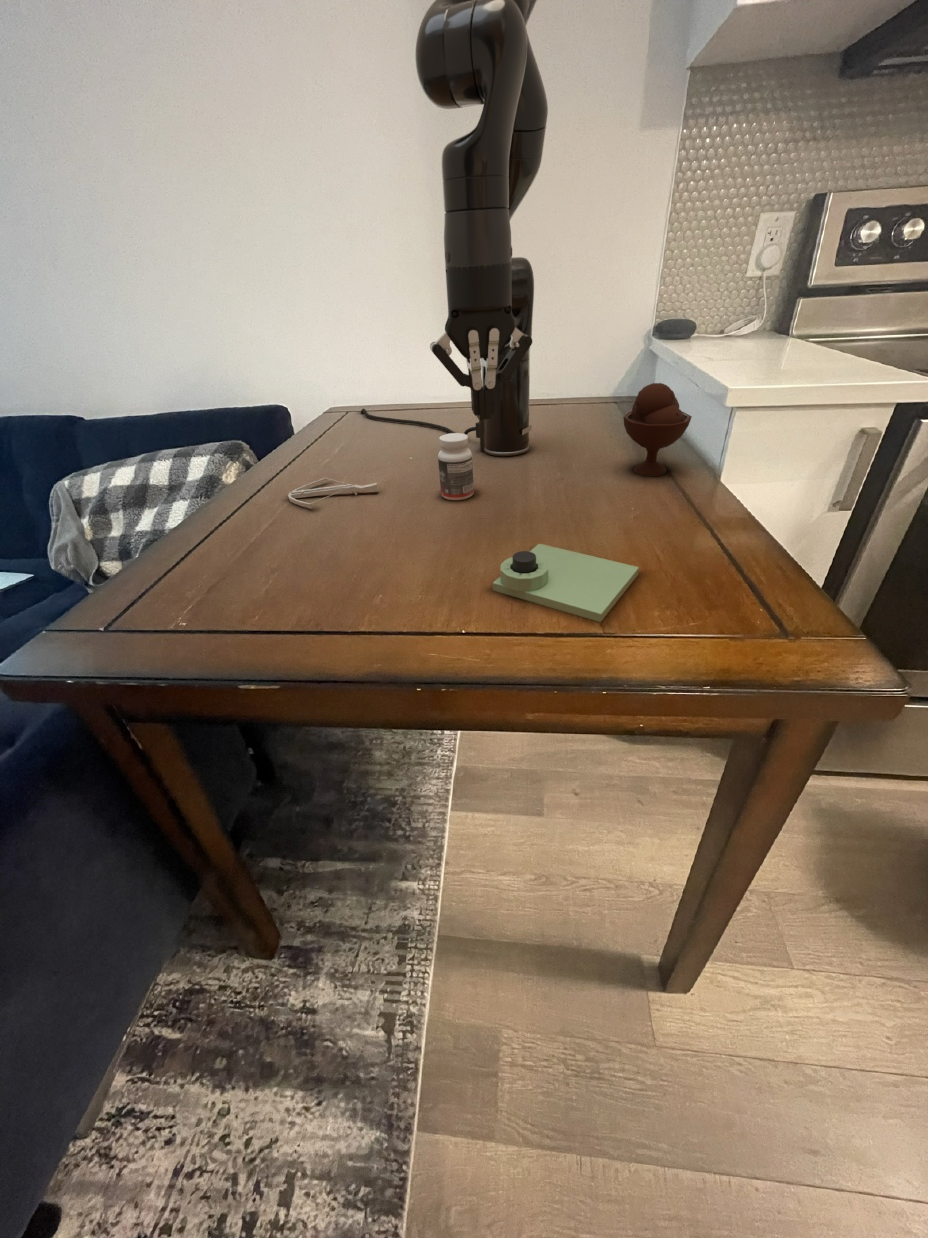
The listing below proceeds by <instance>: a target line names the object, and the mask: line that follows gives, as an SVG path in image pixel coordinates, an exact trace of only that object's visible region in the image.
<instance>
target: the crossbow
mask: <svg viewBox="0 0 928 1238" xmlns="http://www.w3.org/2000/svg"><path fill="white" fill-rule="evenodd" d="M328 480H330V481H334V482H337V483H341V485H333V486H325V487H317V486H319V485H322V484H325V483H327V482H328ZM314 487H317V488H314ZM379 490H380V489H379V484H378V482H374V483H369V484H365V485H360V484H354V483H347V482H343V481H338V480H335V479H332V478H328V477H322V478H321V479H318V480H315V481H312V482H309V483H307V484H304V485H302V486H300V487H298V488H295V489H294V490H291V491H290V492H288V494H287V497H288V500H289V501H290V503H293V504H294V505H297V506H300V507H303V508H309V509H314V507H313V505H312V504H314V503H317V502H319V501H321V500H323V499H326V498H328V497H331V496H333V495H336V494H341V493H348V492H349V493H350V492H351V493H352V494H354V495H355V496H358V492H359V493H378V492H379ZM325 495H326V496H325ZM327 495H328V496H327ZM317 496H325V497H322V498H320V499H317V500H315V501H313V502H305V501H302V500H298V499H302V498H310V497H317Z"/></svg>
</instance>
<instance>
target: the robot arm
mask: <svg viewBox="0 0 928 1238" xmlns="http://www.w3.org/2000/svg"><path fill="white" fill-rule="evenodd" d="M537 2H538V0H434V2H432V4H431V5H430V6H429V7H428V9H427V10H426V12H425V13H424V16H423V18H422V19H421V22H420V25H419V28H418V32H417V36H416V41H415V42H416V43H415V54H414V55H415V59H414V60H415V69H416V74H417V75H416V76H417V79H418V81H419V85H420V87H421V89H422V92H423V94H424V95H425V96H426V98H427V99H428V101H430V102H431V103H432V104H433V105H435V106H436V107H438V108H440V109H444V110H457V109H462V108H469V107H475V106H482V105H483V106H482V110H481V114H480V116H479V120H478V122H477V124H476V126H475V127H474V128H473V129H472V130H471V131H470V132H468V133H466V134H464V135H462V136H460V137H458V138H456V139H454V140H453V139H452V141H450V142H448V143H447V144H446V145H445V146H444V148H443V150H442V152H441V179H442V180H441V181H442V196H443V197H442V198H443V212H444V221H443V223H444V226H443V250H444V266H445V268H444V269H445V281H446V283H445V284H446V298H447V319H446V321H445V325H444V331H445V332H444V333H443V334H441V336H440V337H439V338H438V339H437V340H436V341H432V342H431V343H430V344H429V349H430V351H431V352H432V354H433V355H434V356H435V357H436V358H437V360H438V361H439V362H440V364H441V365H443V367H444V368H445V369H446V370H447V371H448V373H449V374H450V375H451V376H452V378H453V379H454V380H455V381H456V383H458V385H459V386H460V387H467V388H470V401H471V402H470V404H471V411H472V413H473V415H474V416H475V417H476V418H477V419H478V421H476V422H475V426H472V427H468V428H467V429H466V430H465V431H464V432H463V434H466V435H467V436H468V434H469V433H471V432H475V438H476V439H479V450H480V452H483V453H485V454H487V455H490V456H496V457H513V456H519V455H523V454H526V453H527V452H528V451H529V450H530V432H531V431H532V424H530V385H531V384H530V383H531V382H530V380H531V379H530V377H531V375H530V374H531V373H530V371H531V370H530V369H531V367H530V366H531V365H530V363H531V358H530V357H531V346H532V344H533V317H534V315H533V314H534V300H535V276H534V270H533V267H532V264H531V262H530V260H528V258H526V257H522V256H518V257H517V256H514V257H513V245H512V229H511V228H512V227H511V220H512V218H513V216H514V215H515V213H516V211H517V210H518V208H519V207H520V205H521V204H522V202H523V200H524V199H525V197H526V195H527V194H528V192H529V191H530V189H531V187H532V185H533V184H534V182H535V180H536V178H537V175H538V174H539V170H540V168H541V163H542V160H543V153H544V144H545V138H546V137H545V136H546V130H547V122H548V115H549V113H548V112H549V109H548V108H549V106H548V98H547V94H546V89H545V86H544V82H543V79H542V75H541V73H540V69H539V65H538V62H537V59H536V57H535V54H534V51H533V48H532V44H531V41H530V37H529V34H528V30H527V25H528V22H529V20H530V17H531V15H532V13H533V11H534V8H535V6H536V4H537ZM451 342H452V344H453V345H454V347H456V350H457V351H458V352H459V354H460V355H461V356H462V357H463V358H464V359H465V363H466V368H467V373H464V372H463V371H462V370H461V368H460V367H459V366H458V365H457V363H455V361H454V359H452V357H451V356H450V355H451V354H452V352H453V349H452V347H451ZM360 414H361V415H363V414H364V415H365V417H367V418H369V419H372V420H376V421H377V420H378V421H385V422H392V423H400V424H410V425H419V426H424V427H429V428H434V429H438V430H442V431H445V432H447V433H448V434H449V433H456V432H455V431H453V430H452V429H450V428H448V427H446V426H444V425H440V424H437V423H436V424H435V423H432V422H431V423H430V422H425V421H421V420H411V419H401V418H392V417H386V416H385V417H384V416H378V415H377V416H376V415H373V414H370V413H368V412H367V410H366V408H362V409H361V410H360Z"/></svg>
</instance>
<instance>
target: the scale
mask: <svg viewBox="0 0 928 1238" xmlns="http://www.w3.org/2000/svg"><path fill="white" fill-rule="evenodd" d="M529 552H532V553H534V554H535V555H536V570H535V572H531V573H526V574H521V573H517V572H514V571H513V556H512V557H509V558H506V559H505V560H504V561H503V562H501V564H500V576H499V577H497V578H496V579H495V580H494V581H493V582H492V590H493V592H498V593H500V594H504V595H507V596H510V597H513V598H517V599H521V600H524V601H528V602H530V603H534V604H537V605H541V606H544V607H548V608H552V609H554V610H557V611H561V612H564V613H569V614H571V615H575V616H578V617H581V618H585V619H588V620H590V621H595V622H598V623H602V621H603V620H604V619H605V617H606V616H607V615H608V613H609V612H610V611H611V610H612V608H613V607H614V606H615V605H616V603H617V602H618V601H619V599H621V597H622V596H623V595H624V593H625V592H626V591H627V590H628V589H629V587H630V586H631V585H632V584H633V582H634V581H635V580H636V579H637V577H638V576H639V571H640V567H639V566H636V565H632V564H627V563H624V562H619V561H615V560H611V559H606V558H602V557H599V556H598V557H597V556H594V555H589V554H585V553H582V552H577V551H573V550H569V549H564V548H560V547H555V546H551V545H547V544H542V543H538V544H537V545H535V546H534V547H532V548H531V550H529Z"/></svg>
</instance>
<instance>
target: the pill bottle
mask: <svg viewBox="0 0 928 1238" xmlns="http://www.w3.org/2000/svg"><path fill="white" fill-rule="evenodd" d="M468 445H469V436H468V434H467V435H466V434H464V433H461V432H455V433H449V432H448V433H445V434H443V435H441V436H439V447H441V449H440V450H439V452H438V453H437V454H438V455H437V461H438V462H437V463H438V473H439V475H438V476H439V483H440V484H439V485H440V487H439V488H440V494H441V496H442V497H443V499H446V500H449V501H462V500H466V499H467V500H468V499H469V498H471V497H472V496H473V495H474V494H475V485H474V484H475V483H474V468H473V466H474V465H473V452H472V450H471V449H470V448H469V447H468Z"/></svg>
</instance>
